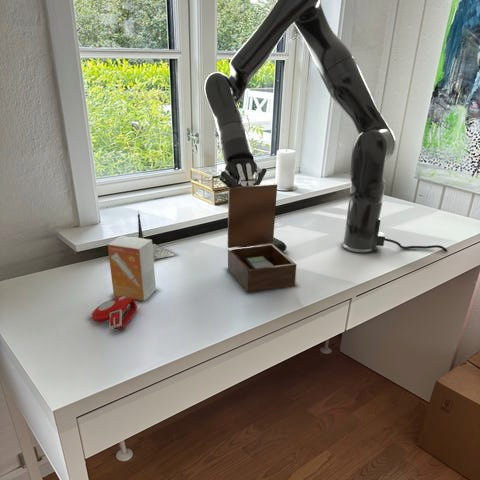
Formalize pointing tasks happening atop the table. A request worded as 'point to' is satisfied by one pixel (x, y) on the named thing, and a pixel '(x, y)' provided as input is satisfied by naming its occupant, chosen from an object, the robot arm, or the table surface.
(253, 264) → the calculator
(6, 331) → the table surface
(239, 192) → the cover
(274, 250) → the case
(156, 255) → the eiffel tower figurine
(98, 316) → the tracker holder
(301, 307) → the table surface
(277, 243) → the carrying case
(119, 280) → the small box
